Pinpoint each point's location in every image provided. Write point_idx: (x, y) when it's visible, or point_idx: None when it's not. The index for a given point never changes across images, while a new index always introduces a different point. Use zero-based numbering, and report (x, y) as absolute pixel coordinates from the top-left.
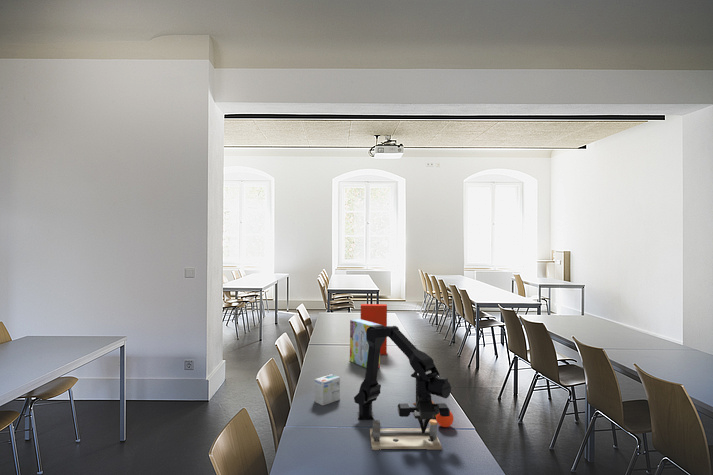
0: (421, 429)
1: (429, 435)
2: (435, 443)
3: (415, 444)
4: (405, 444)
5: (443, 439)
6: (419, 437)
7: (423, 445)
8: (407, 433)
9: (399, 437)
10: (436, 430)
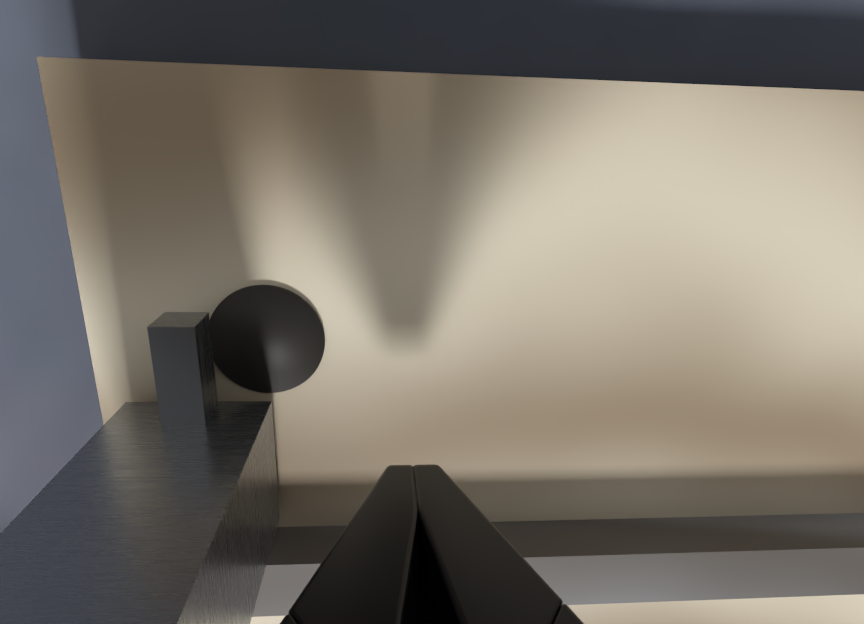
0: (482, 513)
1: (270, 468)
2: (181, 190)
3: (637, 163)
4: (843, 169)
5: (20, 452)
6: (476, 440)
7: (476, 108)
8: (684, 538)
9: (838, 440)
10: (33, 509)
